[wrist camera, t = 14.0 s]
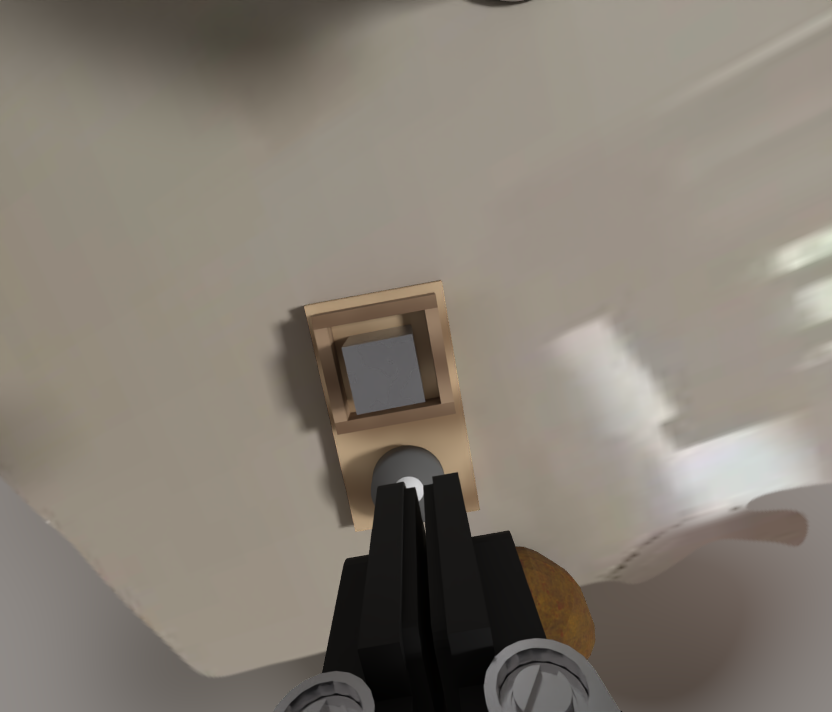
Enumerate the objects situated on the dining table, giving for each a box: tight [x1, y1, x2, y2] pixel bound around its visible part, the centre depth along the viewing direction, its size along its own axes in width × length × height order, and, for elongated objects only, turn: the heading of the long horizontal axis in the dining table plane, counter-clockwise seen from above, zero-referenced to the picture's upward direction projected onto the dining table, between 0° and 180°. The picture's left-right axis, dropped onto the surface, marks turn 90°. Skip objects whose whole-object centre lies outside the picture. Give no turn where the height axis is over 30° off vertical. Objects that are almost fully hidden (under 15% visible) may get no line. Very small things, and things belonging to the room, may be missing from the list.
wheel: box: [371, 445, 444, 522], centre depth 39 cm, size 6×6×2 cm
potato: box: [516, 547, 595, 660], centre depth 41 cm, size 8×12×8 cm, turn 49°
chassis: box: [304, 280, 480, 532], centre depth 39 cm, size 20×11×4 cm, turn 10°
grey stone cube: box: [342, 324, 425, 415], centre depth 36 cm, size 5×5×5 cm
